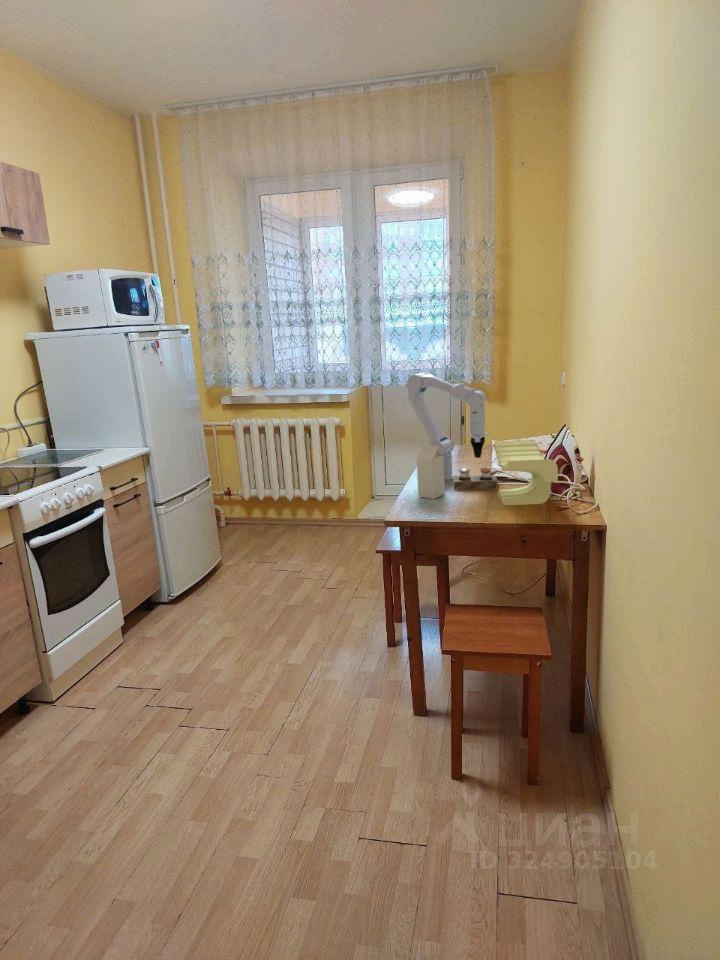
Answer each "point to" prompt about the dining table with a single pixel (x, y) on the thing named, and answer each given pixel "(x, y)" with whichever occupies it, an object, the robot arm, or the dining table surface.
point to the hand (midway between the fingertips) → (477, 456)
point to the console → (475, 483)
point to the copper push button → (485, 473)
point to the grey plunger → (464, 473)
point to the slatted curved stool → (526, 460)
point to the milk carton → (430, 472)
